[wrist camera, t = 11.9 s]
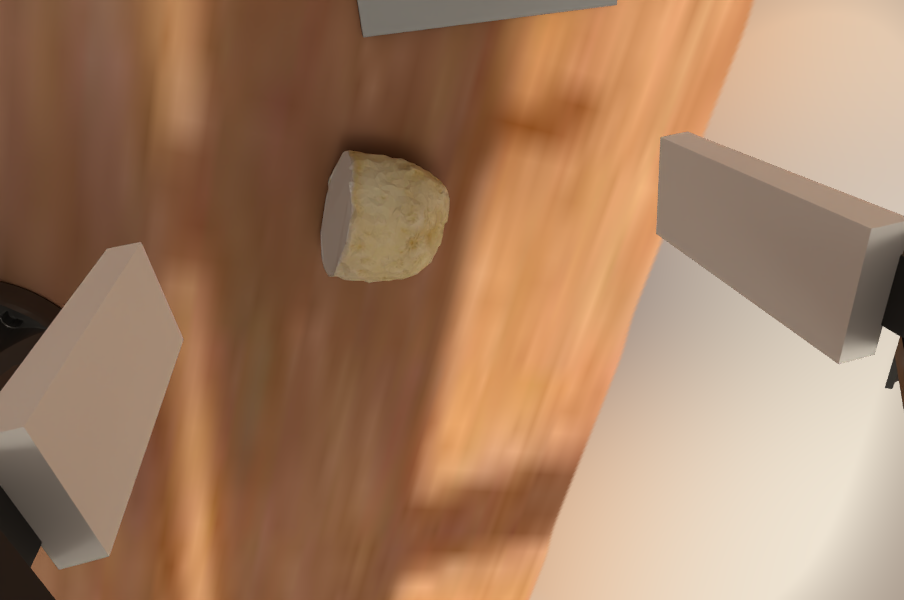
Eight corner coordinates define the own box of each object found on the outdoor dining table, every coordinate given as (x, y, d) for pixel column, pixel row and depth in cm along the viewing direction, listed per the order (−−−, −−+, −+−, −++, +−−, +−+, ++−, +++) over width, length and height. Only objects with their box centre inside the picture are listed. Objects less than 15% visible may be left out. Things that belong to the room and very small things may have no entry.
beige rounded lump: (297, 131, 36) (447, 190, 35) (353, 130, 46) (472, 177, 45) (261, 271, 39) (399, 328, 38) (321, 242, 49) (431, 288, 48)
